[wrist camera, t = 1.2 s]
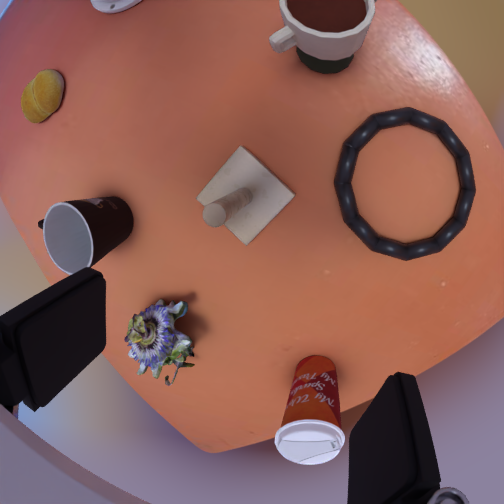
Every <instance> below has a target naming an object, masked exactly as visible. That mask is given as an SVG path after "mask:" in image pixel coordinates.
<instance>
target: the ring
mask: <svg viewBox="0 0 504 504" xmlns="http://www.w3.org/2000/svg"><path fill="white" fill-rule="evenodd" d="M405 124H412V125H415V126H417V127H420V128H422V129H425V130H427V131H430V132H432V133H435V134H437V135H438V136H439V137H440V139H441V140H442V141H443V142H444V144H445V145H446V146H447V147H448V149H449V150H450V151H451V152H452V154H453V155H454V156H455V158H456V161H457V166H458V171H459V176H460V182H461V187H462V189H461V193H460V196H459V200H458V203H457V207H456V210H455V213H454V216H453V218H452V219H451V220H450V221H449V222H448V223H447V224H446V225H445V226H444V227H443V228H442V229H441V230H440V231H439V232H438V233H437V234H436V235H435V236H434V237H433V238H430V239H426V240H422V241H418V242H414V243H410V244H403V243H400V242H397V241H393V240H390V239H387V238H384V237H380V236H379V235H378V234H377V233H376V232H375V231H374V230H373V229H372V228H371V226H370V225H369V224H368V223H367V222H366V221H365V220H364V219H363V218H362V217H361V216H360V215H359V212H358V208H357V204H356V200H355V196H354V192H353V188H352V184H351V181H352V178H353V174H354V170H355V166H356V162H357V158H358V154H359V151H360V150H361V149H362V148H363V147H364V146H365V145H366V144H367V143H368V142H369V141H370V140H371V139H372V138H373V137H374V136H375V135H376V134H377V133H378V132H379V131H380V130H381V129H386V128H390V127H395V126H400V125H405ZM334 185H335V189H336V192H337V196H338V200H339V204H340V207H341V211H342V215H343V219H344V222H345V223H346V225H347V226H348V227H349V228H350V229H351V230H352V231H353V232H354V233H355V234H356V235H357V236H358V237H359V238H360V239H361V240H362V241H363V243H364V244H365V245H366V246H367V247H368V248H369V249H370V250H371V251H374V252H377V253H381V254H384V255H388V256H391V257H394V258H398V259H401V260H405V261H408V260H412V259H415V258H419V257H423V256H427V255H431V254H434V253H438V252H440V251H442V250H443V249H444V248H445V247H446V246H447V245H448V244H449V243H450V242H451V241H452V240H453V239H454V238H455V237H456V236H457V235H458V234H459V233H460V231H461V230H462V229H463V228H464V227H465V226H466V223H467V220H468V217H469V213H470V210H471V207H472V203H473V200H474V196H475V193H476V187H475V181H474V175H473V169H472V164H471V159H470V154H469V152H468V150H467V149H466V147H465V146H464V145H463V143H462V142H461V141H460V139H459V138H458V137H457V136H456V134H455V133H454V132H453V131H452V129H451V128H450V127H449V126H448V124H447V123H446V122H445V121H443V120H441V119H438V118H436V117H434V116H431V115H429V114H426V113H424V112H421V111H419V110H416V109H414V108H411V107H405V108H400V109H395V110H390V111H385V112H380V113H376V114H372V115H370V116H369V117H368V118H367V119H366V120H365V121H364V122H363V123H362V124H361V125H360V126H359V127H358V128H357V129H356V130H355V131H354V133H353V134H352V135H351V136H350V137H349V138H348V139H347V140H346V141H345V142H344V143H343V147H342V151H341V156H340V160H339V164H338V168H337V172H336V176H335V180H334Z"/></svg>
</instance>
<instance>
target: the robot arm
mask: <svg viewBox="0 0 504 504" xmlns="http://www.w3.org/2000/svg"><path fill="white" fill-rule="evenodd" d="M140 1H142V0H91V3H92V5H93V7H95V8H96V9H97V10H99V11H101V12H104V13H117V12H121V11H124V10H126V9H128V8H130V7H132V6H134V5H136V4H137V3H139V2H140ZM105 346H106V281H105V279H104V278H103V274H102V273H101V272H99V271H96V270H94V269H92V268H90V267H85V268H83V269H81V270H79V271H77V272H75V273H74V274H72V275H70V276H68V277H66V278H65V279H63V280H61V281H59V282H57V283H56V284H54V285H52V286H51V287H49V288H47V289H45V290H43V291H42V292H40V293H38V294H36V295H35V296H33V297H31V298H30V299H28V300H26V301H24V302H23V303H21V304H19V305H18V306H16V307H15V308H13V309H11V310H9V311H8V312H6V313H5V314H3V315H1V316H0V504H150V503H148V502H146V501H144V500H141V499H139V498H137V497H135V496H133V495H131V494H129V493H127V492H125V491H123V490H121V489H119V488H118V487H116V486H114V485H112V484H110V483H109V482H107V481H105V480H103V479H101V478H100V477H98V476H96V475H95V474H93V473H91V472H90V471H88V470H86V469H85V468H83V467H82V466H80V465H79V464H77V463H75V462H74V461H72V460H71V459H69V458H68V457H66V456H65V455H63V454H62V453H61V452H59V451H58V450H56V449H55V448H54V447H52V446H51V445H49V444H48V443H47V442H45V441H44V440H43V439H41V438H40V437H39V436H38V435H36V434H35V433H34V432H32V431H31V430H30V429H29V428H28V427H26V426H25V425H24V424H23V423H21V422H20V421H19V420H18V407H19V403H20V402H21V401H22V400H23V402H24V404H25V405H27V406H28V407H29V408H30V409H32V410H33V411H34V412H35V411H36V410H37V409H38V408H39V407H44V406H46V405H47V404H48V403H49V402H50V401H51V400H52V399H53V398H54V397H55V396H56V395H57V394H58V393H59V392H60V391H61V390H62V389H63V388H64V387H66V385H68V384H69V383H70V382H71V381H72V380H73V379H74V378H75V377H76V376H77V375H78V374H79V373H80V372H81V371H82V370H83V369H84V368H85V367H86V366H87V365H88V364H90V363H91V362H92V361H93V360H94V359H95V358H96V357H97V356H98V355H99V354H100V353H101V352H102V351H103V350H104V348H105ZM440 482H441V478H440V474H439V468H438V463H437V459H436V454H435V449H434V445H433V441H432V437H431V433H430V428H429V424H428V421H427V417H426V413H425V409H424V406H423V402H422V399H421V395H420V392H419V389H418V385H417V382H416V378H415V376H413V375H410V374H405V373H401V372H396V373H395V374H394V375H390V376H389V377H388V378H387V379H386V381H385V383H384V384H383V386H382V387H381V389H380V390H379V392H378V393H377V395H376V396H375V398H374V399H373V401H372V402H371V404H370V405H369V407H368V408H367V410H366V411H365V412H364V414H363V415H362V417H361V418H360V420H359V421H358V422H357V423H356V425H355V426H354V428H353V429H352V431H351V434H350V438H349V481H348V501H347V502H348V503H347V504H469V501H468V500H467V498H466V496H465V495H464V494H463V493H462V492H461V491H459V490H457V489H455V488H451V487H445V488H441V489H440V484H439V483H440Z"/></svg>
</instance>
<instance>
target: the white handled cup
mask: <svg viewBox="0 0 504 504" xmlns="http://www.w3.org/2000/svg"><path fill="white" fill-rule="evenodd" d="M376 1H377V0H279V3H280V11H281V15H282V18H283V21H284V25H285V27H284V28H282V29H280V30H278V31H277V32H275V33H274V34H273V35H271V36H270V38H269V41H270V44H271V46H272V48H273V50H274V51H275V52H277V53H282V52H284V51H286V50H288V49H290V48H291V47H293V46H295V45H296V46H297V51H296V52H297V54H298V56H299V58H300V60H301V62H303V63H304V64H305V65H306V66H308V67H309V68H310V69H311V70H314V71H317V72H320V73H323V74H328V73H338V72H340V71H341V70H343V69H345V68H347V67H348V65H349V64H350V62H351V61H352V59H353V57H354V52H356V51H357V50H358V49H359V48H360V47H361V46H362V44H363V41H364V39H365V36H366V34H367V31H368V29H369V26H370V24H371V21H372V19H373V16H374V14H375V5H374V4H375V2H376Z"/></svg>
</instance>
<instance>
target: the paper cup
mask: <svg viewBox="0 0 504 504" xmlns="http://www.w3.org/2000/svg"><path fill="white" fill-rule="evenodd" d="M344 441H345V436H344V433H343V432H342V430H341V417H340V401H339V392H338V383H337V375H336V369H335V365H334V364H333V362H332V361H331V360H329V359H328V358H326V357H323V356H310V357H307V358H305V359H303V360H302V361H301V362H300V363H299V364H298V366H297V368H296V372H295V375H294V379H293V383H292V387H291V391H290V394H289V398H288V402H287V406H286V410H285V413H284V417H283V421H282V424H281V428H280V429H279V430H278V431H277V433H276V436H275V444H276V447H277V449H278V451H279V452H280V453H281V454H282V456H284V457H285V458H287V459H288V460H290V461H293V462H295V463H299V464H308V465H309V464H320V463H324V462H327V461H329V460H331V459H333V458H334V457H335V456H337V454H338V453H339V451H340V449H341V447H342V446H343V444H344Z"/></svg>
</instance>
